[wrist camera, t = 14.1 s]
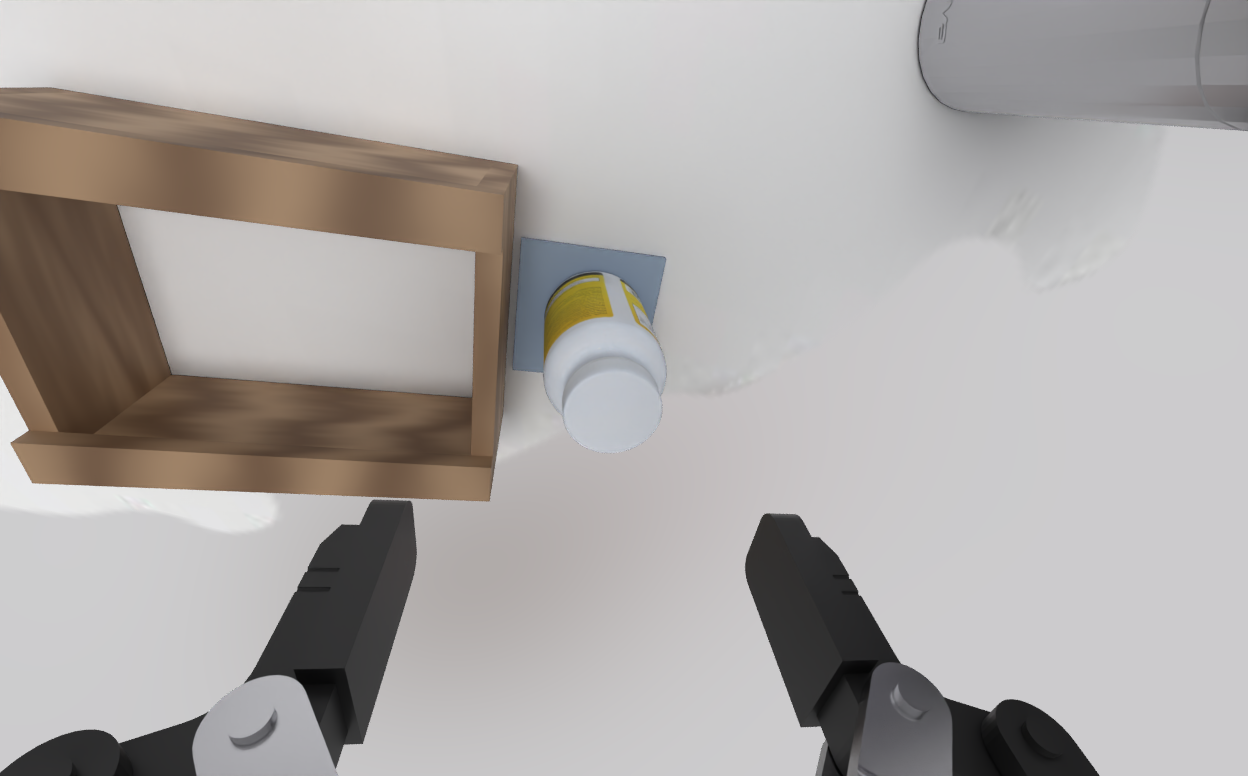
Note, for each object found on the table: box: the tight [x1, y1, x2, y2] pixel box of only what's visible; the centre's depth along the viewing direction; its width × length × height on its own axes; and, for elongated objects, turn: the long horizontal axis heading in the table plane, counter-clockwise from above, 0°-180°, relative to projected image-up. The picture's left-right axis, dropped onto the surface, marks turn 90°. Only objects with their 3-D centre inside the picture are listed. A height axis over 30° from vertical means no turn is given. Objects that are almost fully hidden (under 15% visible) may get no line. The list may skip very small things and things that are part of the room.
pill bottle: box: [543, 271, 666, 453], centre depth 28 cm, size 6×6×12 cm
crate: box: [0, 88, 517, 501], centre depth 26 cm, size 22×17×9 cm
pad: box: [513, 237, 666, 373], centre depth 33 cm, size 9×9×1 cm
